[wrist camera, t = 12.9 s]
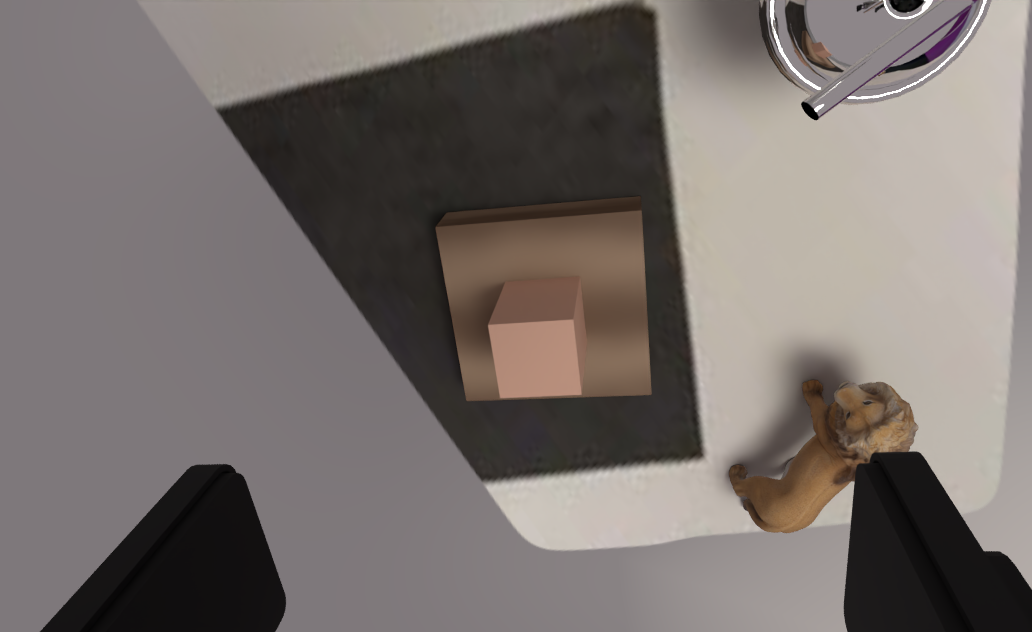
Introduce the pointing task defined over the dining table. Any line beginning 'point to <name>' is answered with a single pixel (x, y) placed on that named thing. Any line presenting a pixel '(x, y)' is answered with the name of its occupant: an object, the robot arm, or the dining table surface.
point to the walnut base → (543, 255)
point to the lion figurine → (828, 454)
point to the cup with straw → (865, 45)
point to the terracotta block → (539, 338)
